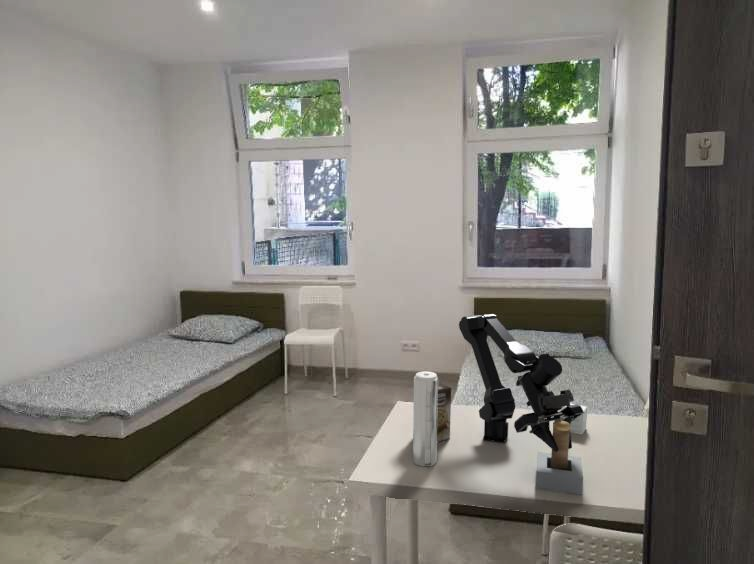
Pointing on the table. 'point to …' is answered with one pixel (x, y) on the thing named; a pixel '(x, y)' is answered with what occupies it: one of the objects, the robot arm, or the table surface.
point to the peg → (560, 445)
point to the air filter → (425, 418)
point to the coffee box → (443, 412)
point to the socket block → (559, 475)
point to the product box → (579, 422)
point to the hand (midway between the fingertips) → (563, 449)
